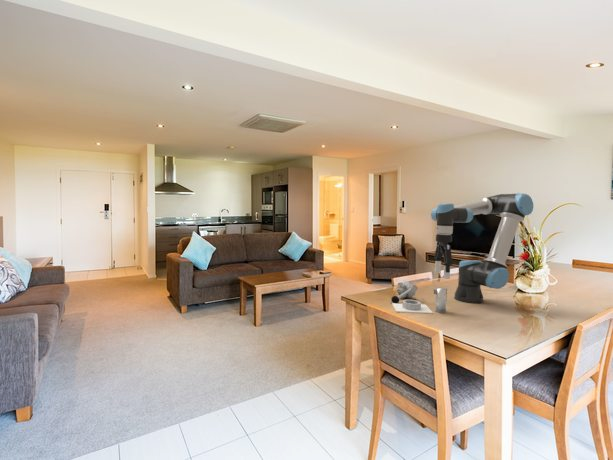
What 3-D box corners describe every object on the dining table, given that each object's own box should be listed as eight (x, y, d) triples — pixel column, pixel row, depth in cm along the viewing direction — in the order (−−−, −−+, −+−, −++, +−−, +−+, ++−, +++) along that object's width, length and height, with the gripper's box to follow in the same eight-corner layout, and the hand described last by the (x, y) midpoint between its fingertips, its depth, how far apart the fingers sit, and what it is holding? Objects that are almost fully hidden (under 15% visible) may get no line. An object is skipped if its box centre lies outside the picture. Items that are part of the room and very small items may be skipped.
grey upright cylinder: (444, 310, 169) (445, 287, 168) (447, 313, 164) (448, 289, 163) (431, 309, 169) (432, 287, 168) (434, 312, 164) (435, 289, 163)
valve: (410, 295, 196) (423, 293, 182) (387, 310, 191) (399, 309, 177) (401, 280, 198) (413, 277, 183) (378, 295, 192) (388, 293, 178)
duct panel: (425, 305, 177) (425, 298, 177) (432, 313, 163) (433, 306, 163) (391, 304, 178) (391, 297, 178) (396, 312, 164) (396, 305, 164)
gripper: (429, 232, 176) (427, 271, 178) (444, 235, 152) (442, 280, 153) (443, 232, 176) (441, 271, 177) (461, 236, 151) (458, 281, 152)
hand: (441, 276), depth 165 cm, fingers open, 13 cm apart
